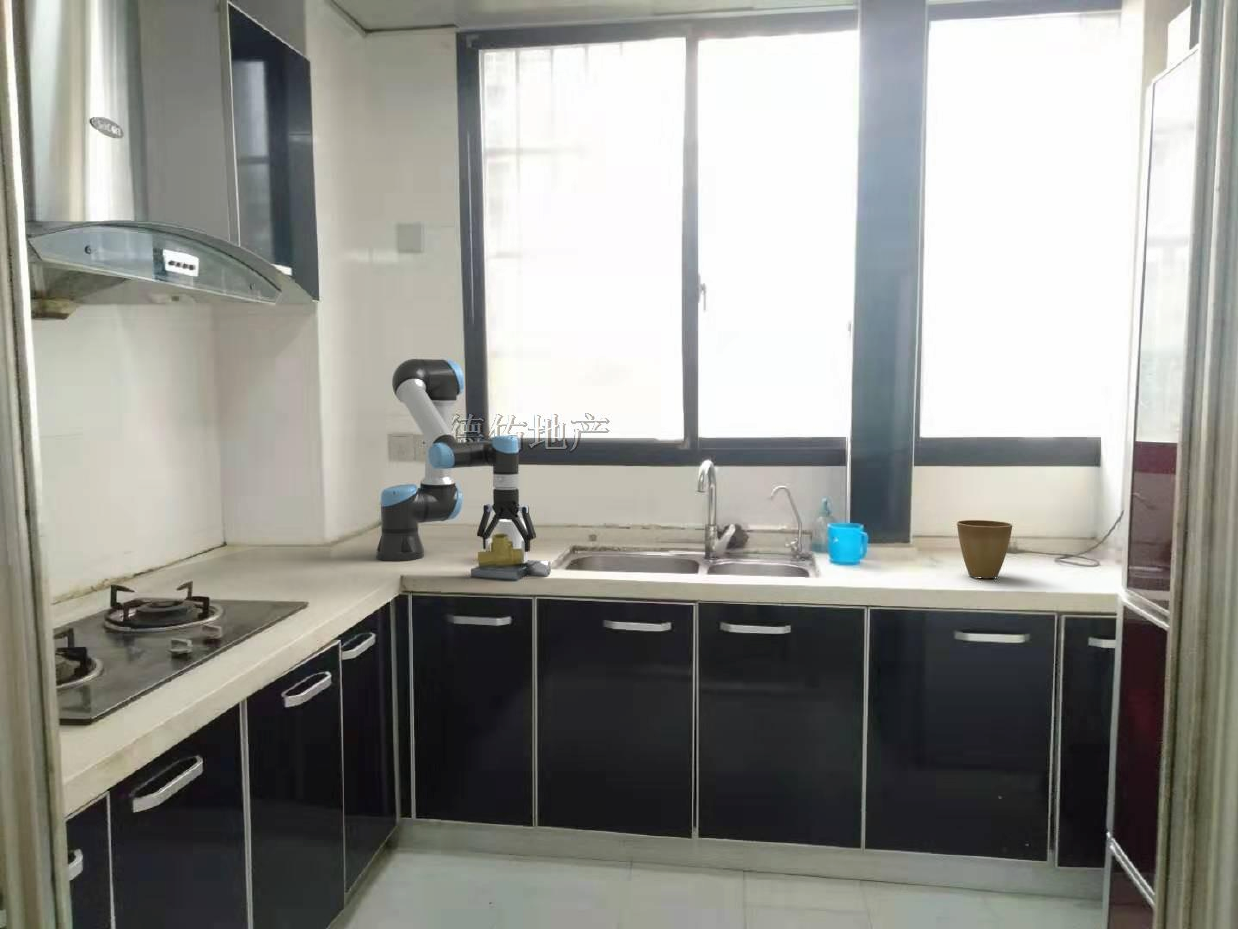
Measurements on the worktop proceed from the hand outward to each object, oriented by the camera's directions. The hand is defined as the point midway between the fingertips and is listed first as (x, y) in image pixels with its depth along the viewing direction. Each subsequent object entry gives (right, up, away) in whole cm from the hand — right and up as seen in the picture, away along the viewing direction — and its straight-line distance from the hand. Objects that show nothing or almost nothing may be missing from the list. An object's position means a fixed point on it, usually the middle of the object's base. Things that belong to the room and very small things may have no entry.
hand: (506, 561), depth 249 cm
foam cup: (-1, -2, +21) cm, 21 cm away
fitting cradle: (+3, -4, -1) cm, 5 cm away
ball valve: (-2, -1, -1) cm, 2 cm away
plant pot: (+140, -4, -4) cm, 140 cm away
